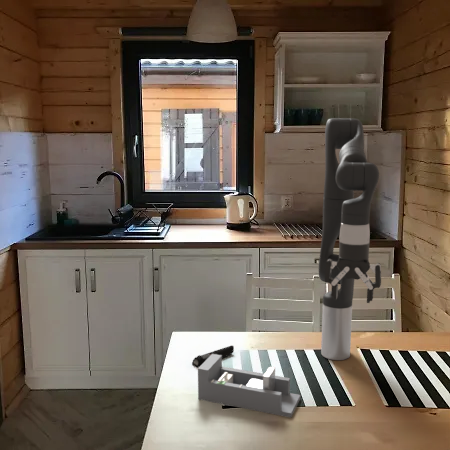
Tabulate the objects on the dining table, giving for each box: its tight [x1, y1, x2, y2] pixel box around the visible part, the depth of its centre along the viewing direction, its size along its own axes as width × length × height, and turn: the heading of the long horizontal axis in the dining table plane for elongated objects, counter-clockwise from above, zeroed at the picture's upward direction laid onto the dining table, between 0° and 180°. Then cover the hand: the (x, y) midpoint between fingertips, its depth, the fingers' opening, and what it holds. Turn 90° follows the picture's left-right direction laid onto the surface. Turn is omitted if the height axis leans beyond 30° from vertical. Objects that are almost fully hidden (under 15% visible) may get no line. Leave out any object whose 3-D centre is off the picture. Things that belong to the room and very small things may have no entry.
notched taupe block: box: [246, 366, 276, 391], centre depth 144 cm, size 6×7×8 cm
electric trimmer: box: [191, 345, 235, 369], centre depth 171 cm, size 4×16×3 cm, turn 129°
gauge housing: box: [197, 354, 301, 418], centre depth 146 cm, size 10×26×9 cm, turn 69°
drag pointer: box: [218, 372, 233, 383], centre depth 147 cm, size 8×2×5 cm, turn 159°
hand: (351, 300), depth 141 cm, fingers open, 8 cm apart
